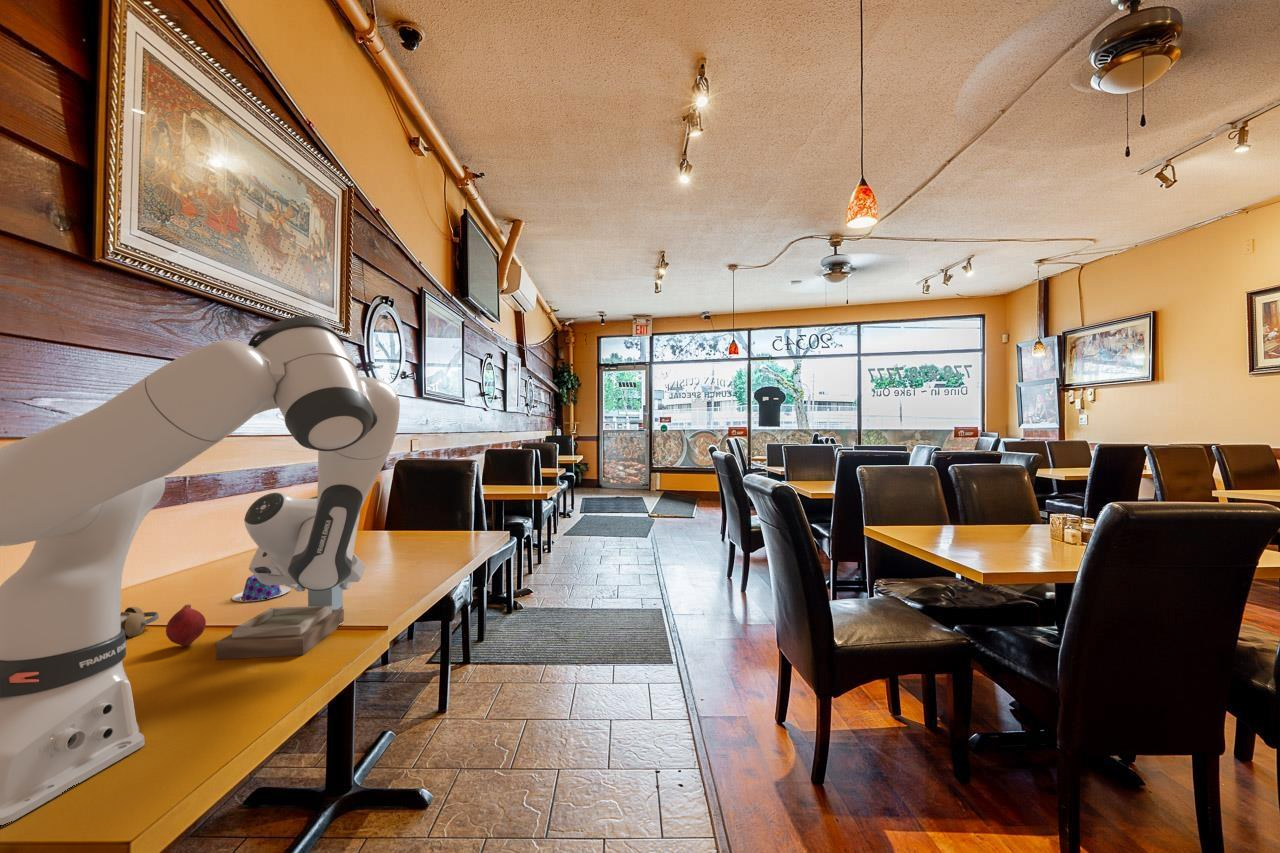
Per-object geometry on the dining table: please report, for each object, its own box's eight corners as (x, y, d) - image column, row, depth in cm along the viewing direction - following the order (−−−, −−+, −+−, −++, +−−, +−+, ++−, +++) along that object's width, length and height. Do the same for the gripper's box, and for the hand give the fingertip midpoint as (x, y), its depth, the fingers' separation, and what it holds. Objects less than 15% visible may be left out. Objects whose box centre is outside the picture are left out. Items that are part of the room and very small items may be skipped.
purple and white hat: (297, 595, 135) (296, 574, 135) (238, 607, 126) (238, 585, 126) (282, 586, 143) (282, 566, 143) (226, 597, 134) (226, 576, 134)
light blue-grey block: (332, 616, 118) (331, 580, 118) (308, 617, 118) (307, 581, 118) (342, 609, 123) (342, 574, 123) (320, 610, 123) (319, 575, 123)
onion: (182, 653, 100) (182, 610, 100) (158, 651, 101) (157, 608, 101) (213, 641, 106) (212, 600, 106) (189, 639, 107) (189, 598, 107)
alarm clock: (54, 626, 107) (153, 596, 118) (60, 649, 108) (159, 617, 118) (49, 641, 99) (156, 607, 110) (56, 666, 100) (162, 630, 110)
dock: (303, 655, 98) (302, 630, 98) (216, 659, 97) (215, 634, 97) (343, 623, 114) (343, 602, 114) (269, 626, 113) (269, 604, 113)
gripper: (356, 538, 112) (376, 573, 122) (253, 542, 111) (282, 576, 121) (346, 565, 108) (368, 598, 118) (239, 569, 106) (270, 602, 116)
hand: (324, 587), depth 119 cm, fingers open, 8 cm apart
